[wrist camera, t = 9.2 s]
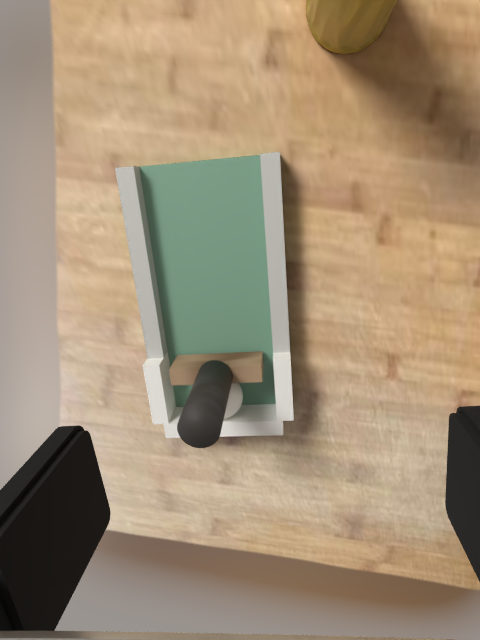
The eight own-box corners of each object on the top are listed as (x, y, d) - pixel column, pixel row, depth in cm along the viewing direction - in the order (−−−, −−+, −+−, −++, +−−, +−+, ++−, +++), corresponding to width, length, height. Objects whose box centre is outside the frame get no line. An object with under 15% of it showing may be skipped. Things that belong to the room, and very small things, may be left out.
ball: (245, 389, 41) (240, 365, 38) (244, 426, 38) (239, 403, 35) (205, 391, 41) (198, 366, 38) (201, 427, 38) (193, 404, 36)
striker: (261, 343, 38) (255, 407, 27) (264, 373, 39) (259, 446, 28) (176, 347, 39) (138, 411, 28) (180, 376, 40) (145, 449, 29)
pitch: (279, 153, 34) (279, 150, 30) (292, 411, 41) (294, 434, 38) (126, 168, 35) (107, 167, 31) (166, 415, 43) (155, 438, 39)
